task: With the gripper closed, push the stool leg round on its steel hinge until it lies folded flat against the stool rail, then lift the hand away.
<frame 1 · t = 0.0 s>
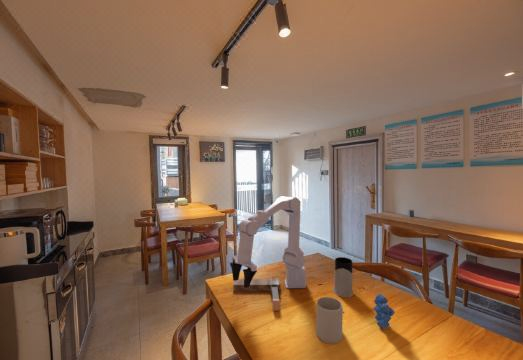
hand: (240, 283, 94), 11 cm above the table, tool pointing down, fingers open, 7 cm apart
mug: (330, 332, 81), on the table
glass holder: (343, 289, 110), on the table
stool leg: (275, 295, 101), point 2 cm above the table, hinge at 90.0°
dice set: (336, 313, 93), on the table
stool rail: (256, 288, 112), on the table
grapes: (384, 328, 83), on the table
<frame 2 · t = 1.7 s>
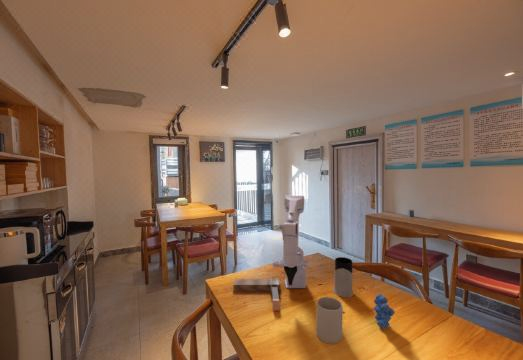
hand: (290, 283, 96), 9 cm above the table, tool pointing down, fingers closed
nothing on the table moved.
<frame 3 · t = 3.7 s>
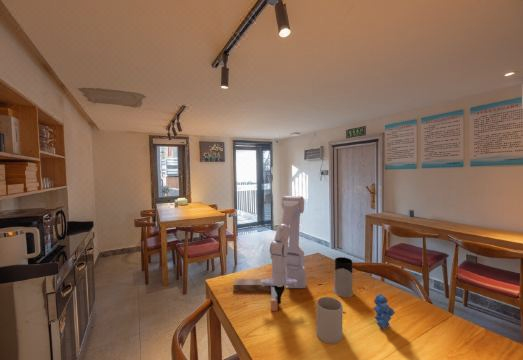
hand: (279, 302, 97), 1 cm above the table, tool pointing down, fingers closed, pressing on stool leg
stool leg: (274, 295, 101), point 2 cm above the table, hinge at 86.5°, touching gripper
everything else where it was.
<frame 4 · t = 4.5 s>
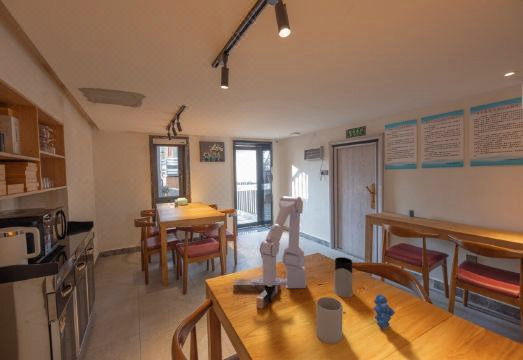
hand: (269, 301, 97), 1 cm above the table, tool pointing down, fingers closed, pressing on stool leg
stool leg: (268, 294, 102), point 2 cm above the table, hinge at 60.6°, touching gripper
everything else where it was.
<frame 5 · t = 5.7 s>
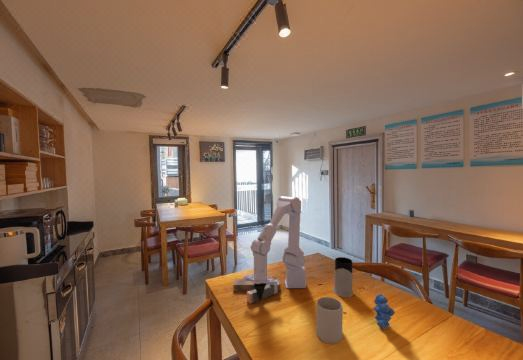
hand: (260, 299, 99), 1 cm above the table, tool pointing down, fingers closed
stool leg: (263, 292, 103), point 2 cm above the table, hinge at 34.9°, touching gripper
everything else where it was.
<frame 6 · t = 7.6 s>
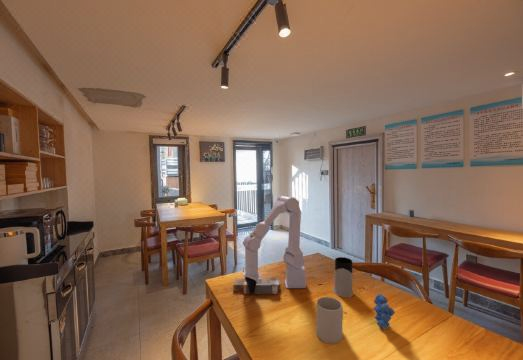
hand: (251, 292, 105), 1 cm above the table, tool pointing down, fingers closed
stool leg: (260, 288, 107), point 2 cm above the table, hinge at -2.1°, touching gripper, stool rail
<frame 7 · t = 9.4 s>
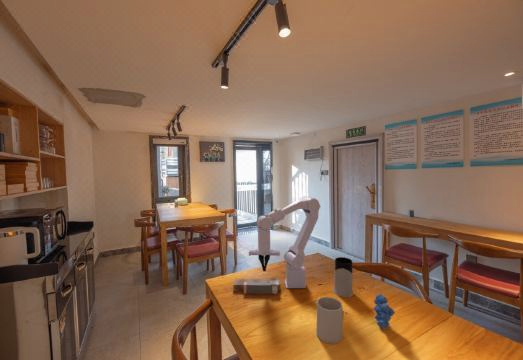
hand: (264, 270, 110), 9 cm above the table, tool pointing down, fingers closed
stool leg: (260, 288, 107), point 2 cm above the table, hinge at -2.1°
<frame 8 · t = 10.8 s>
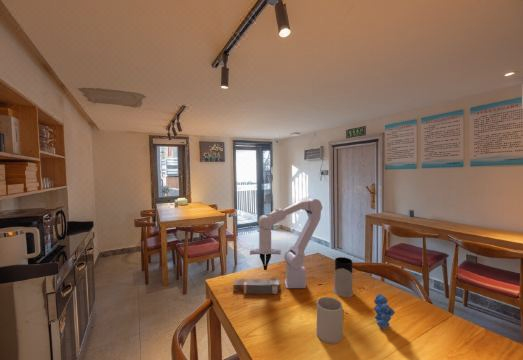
hand: (265, 269, 111), 9 cm above the table, tool pointing down, fingers closed
at the end: stool leg at -2° (first picture: +90°) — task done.
